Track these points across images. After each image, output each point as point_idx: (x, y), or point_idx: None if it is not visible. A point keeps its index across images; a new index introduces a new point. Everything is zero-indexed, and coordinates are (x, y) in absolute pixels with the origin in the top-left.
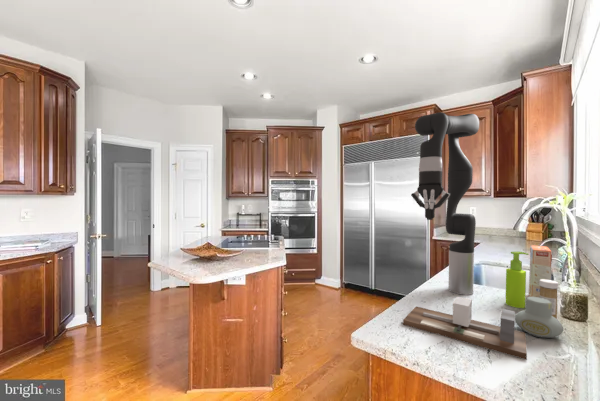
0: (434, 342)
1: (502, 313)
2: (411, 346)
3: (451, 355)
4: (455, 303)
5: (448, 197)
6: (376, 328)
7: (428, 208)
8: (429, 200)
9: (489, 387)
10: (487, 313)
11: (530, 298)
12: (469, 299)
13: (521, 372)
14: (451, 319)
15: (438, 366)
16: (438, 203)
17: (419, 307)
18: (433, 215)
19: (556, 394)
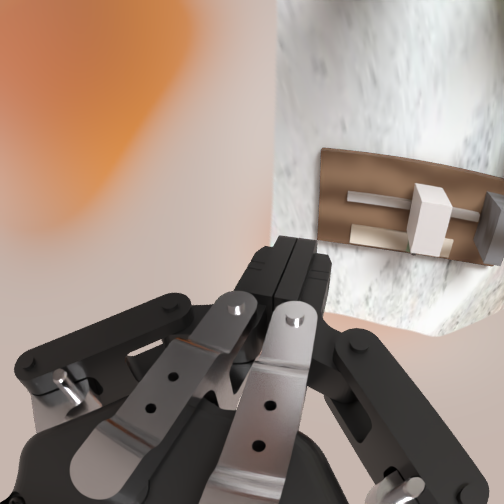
0: (376, 272)
1: (494, 237)
2: (346, 296)
3: (398, 295)
4: (415, 252)
5: (472, 462)
6: None
7: (261, 341)
8: (215, 379)
9: (427, 333)
10: (470, 73)
11: None
12: (447, 209)
13: (471, 294)
14: (404, 205)
15: (381, 322)
16: (351, 417)
17: (330, 152)
18: (325, 301)
19: (486, 316)
